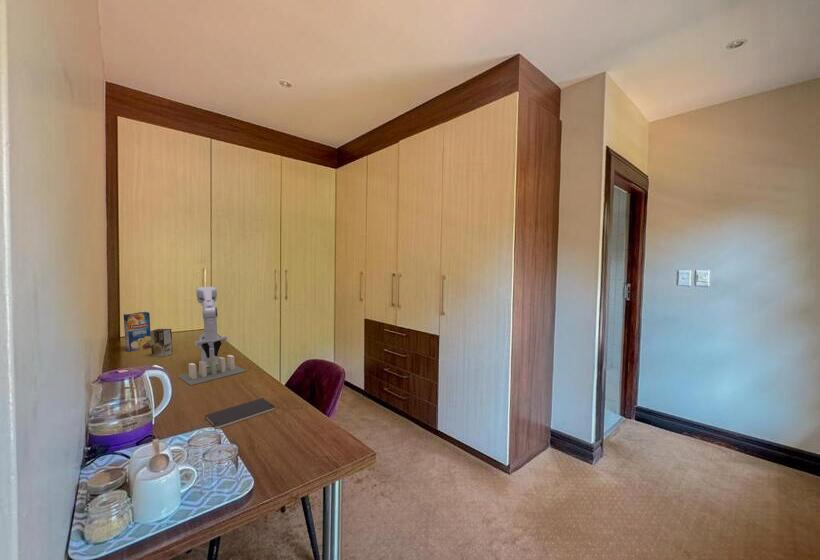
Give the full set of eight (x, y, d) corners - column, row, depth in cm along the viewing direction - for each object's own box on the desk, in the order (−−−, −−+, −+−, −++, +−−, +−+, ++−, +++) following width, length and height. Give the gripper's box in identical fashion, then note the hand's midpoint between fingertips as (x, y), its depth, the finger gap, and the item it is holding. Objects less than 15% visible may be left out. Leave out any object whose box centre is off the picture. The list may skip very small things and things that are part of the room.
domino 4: (231, 370, 178) (230, 357, 178) (227, 368, 181) (227, 355, 181) (234, 369, 180) (234, 356, 179) (231, 367, 183) (230, 354, 182)
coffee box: (173, 353, 212) (172, 328, 211) (164, 356, 206) (163, 330, 205) (160, 353, 213) (158, 328, 212) (151, 356, 207) (149, 330, 206)
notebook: (262, 401, 141) (205, 419, 125) (262, 397, 141) (204, 414, 125) (276, 410, 132) (216, 430, 117) (276, 406, 132) (215, 426, 116)
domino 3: (222, 372, 175) (221, 359, 174) (218, 370, 178) (217, 357, 178) (225, 371, 176) (225, 358, 176) (222, 369, 179) (221, 356, 179)
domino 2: (202, 377, 168) (202, 363, 168) (199, 374, 171) (198, 361, 171) (206, 376, 169) (206, 362, 169) (203, 374, 173) (202, 360, 172)
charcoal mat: (177, 376, 170) (177, 375, 170) (231, 364, 190) (231, 363, 190) (190, 385, 157) (190, 384, 157) (247, 371, 177) (246, 370, 177)
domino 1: (192, 379, 165) (191, 365, 164) (189, 377, 168) (188, 363, 167) (196, 378, 166) (195, 364, 166) (193, 376, 169) (192, 362, 169)
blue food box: (147, 346, 232) (145, 311, 231) (151, 347, 228) (149, 312, 227) (125, 350, 222) (123, 314, 221) (129, 351, 218) (127, 315, 217)
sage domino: (212, 374, 172) (212, 361, 171) (209, 372, 175) (208, 359, 174) (216, 373, 173) (215, 360, 172) (212, 371, 176) (212, 358, 176)
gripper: (197, 334, 164) (198, 361, 165) (229, 329, 175) (230, 355, 176) (192, 332, 169) (194, 358, 170) (223, 327, 180) (224, 352, 181)
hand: (212, 356), depth 173 cm, fingers open, 3 cm apart
